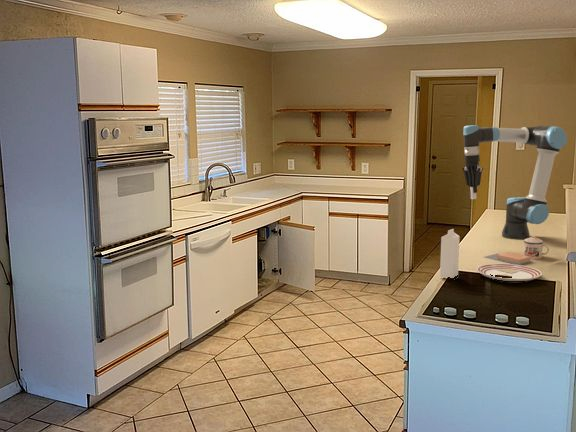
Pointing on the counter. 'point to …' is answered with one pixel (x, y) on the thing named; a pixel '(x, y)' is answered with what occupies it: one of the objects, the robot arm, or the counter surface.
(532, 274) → the dinner plate
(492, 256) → the mat
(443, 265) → the milk
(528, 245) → the teacup with lid
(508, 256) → the peach box
